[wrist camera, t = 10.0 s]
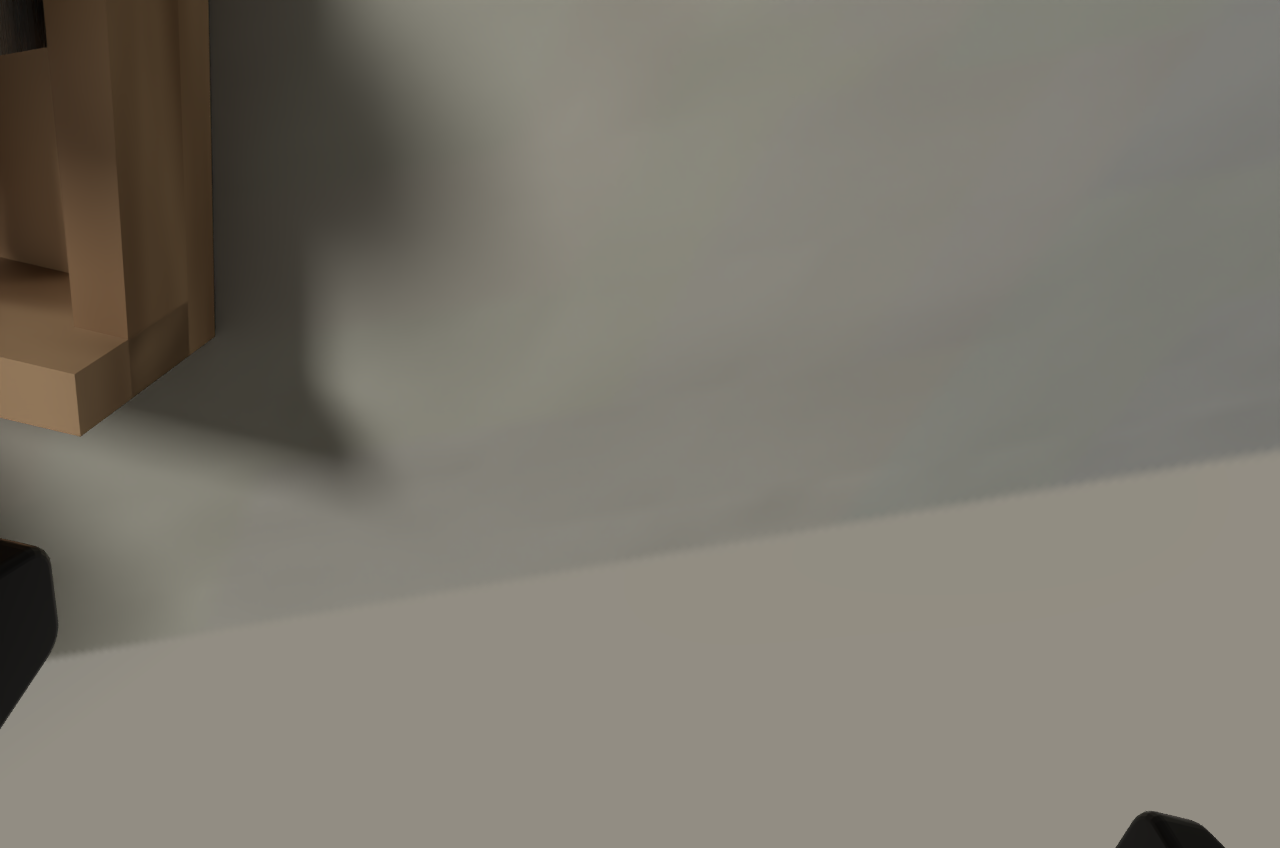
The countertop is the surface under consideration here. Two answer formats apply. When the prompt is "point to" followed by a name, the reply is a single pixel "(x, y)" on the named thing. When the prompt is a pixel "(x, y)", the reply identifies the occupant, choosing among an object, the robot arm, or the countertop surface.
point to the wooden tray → (104, 208)
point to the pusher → (22, 26)
